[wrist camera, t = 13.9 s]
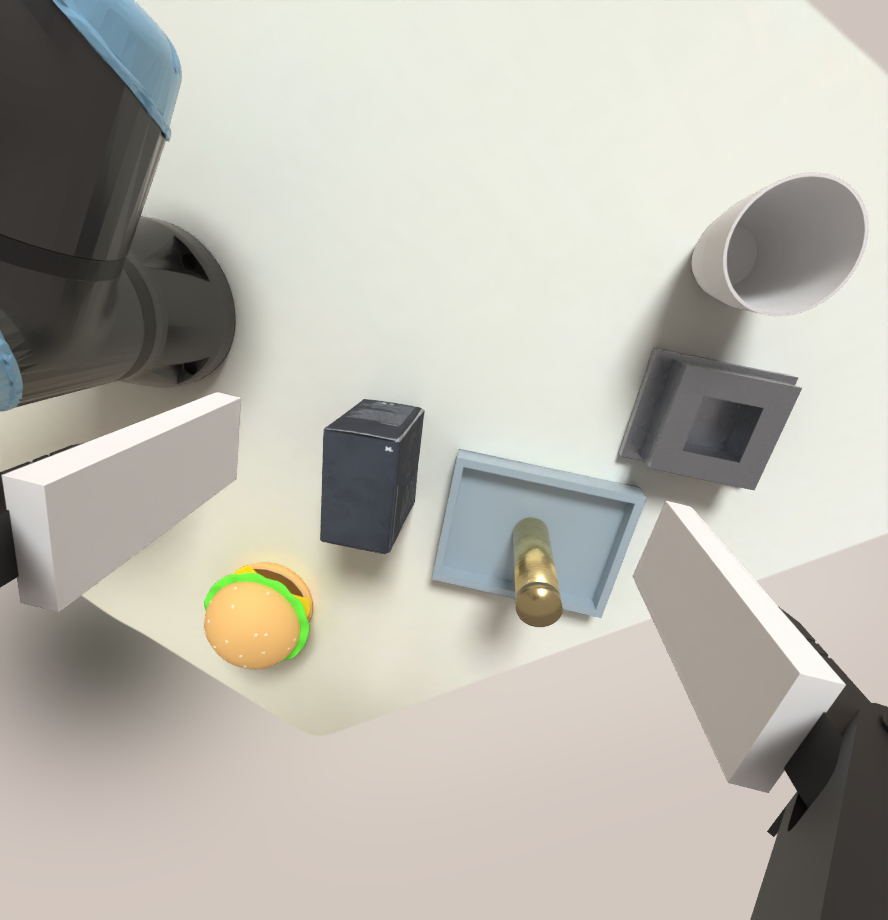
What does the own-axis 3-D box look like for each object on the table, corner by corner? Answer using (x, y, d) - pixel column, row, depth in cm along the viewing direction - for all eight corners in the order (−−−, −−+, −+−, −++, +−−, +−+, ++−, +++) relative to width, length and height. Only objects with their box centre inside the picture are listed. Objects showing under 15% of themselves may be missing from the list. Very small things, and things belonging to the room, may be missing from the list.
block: (618, 452, 45) (630, 469, 41) (653, 348, 41) (670, 355, 37) (744, 479, 44) (769, 499, 40) (791, 375, 41) (824, 385, 37)
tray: (435, 566, 52) (431, 579, 49) (459, 448, 47) (456, 457, 44) (596, 602, 51) (601, 618, 49) (639, 487, 46) (646, 498, 44)
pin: (509, 544, 49) (511, 621, 38) (517, 514, 47) (522, 584, 36) (543, 551, 49) (555, 631, 37) (552, 521, 47) (568, 595, 36)
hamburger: (299, 651, 58) (267, 709, 50) (213, 605, 58) (166, 656, 50) (339, 584, 54) (311, 636, 46) (247, 533, 53) (202, 576, 45)
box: (360, 397, 46) (321, 426, 36) (425, 407, 46) (404, 439, 36) (354, 494, 50) (318, 543, 40) (414, 504, 50) (393, 557, 40)
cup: (781, 292, 39) (869, 294, 29) (678, 321, 40) (730, 331, 31) (774, 186, 36) (867, 151, 27) (664, 221, 38) (716, 199, 29)
